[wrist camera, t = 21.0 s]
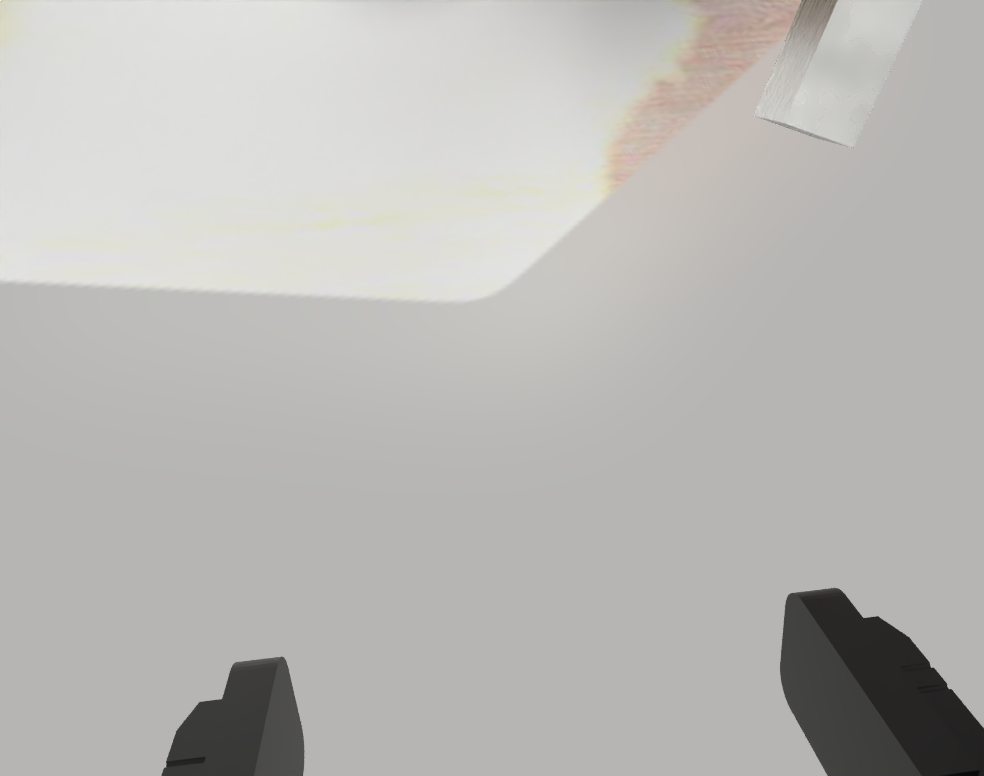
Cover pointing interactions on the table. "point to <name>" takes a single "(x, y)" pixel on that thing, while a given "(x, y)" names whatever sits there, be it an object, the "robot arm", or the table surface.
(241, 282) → the table surface
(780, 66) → the blocky hammer
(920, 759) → the robot arm
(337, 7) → the table surface
